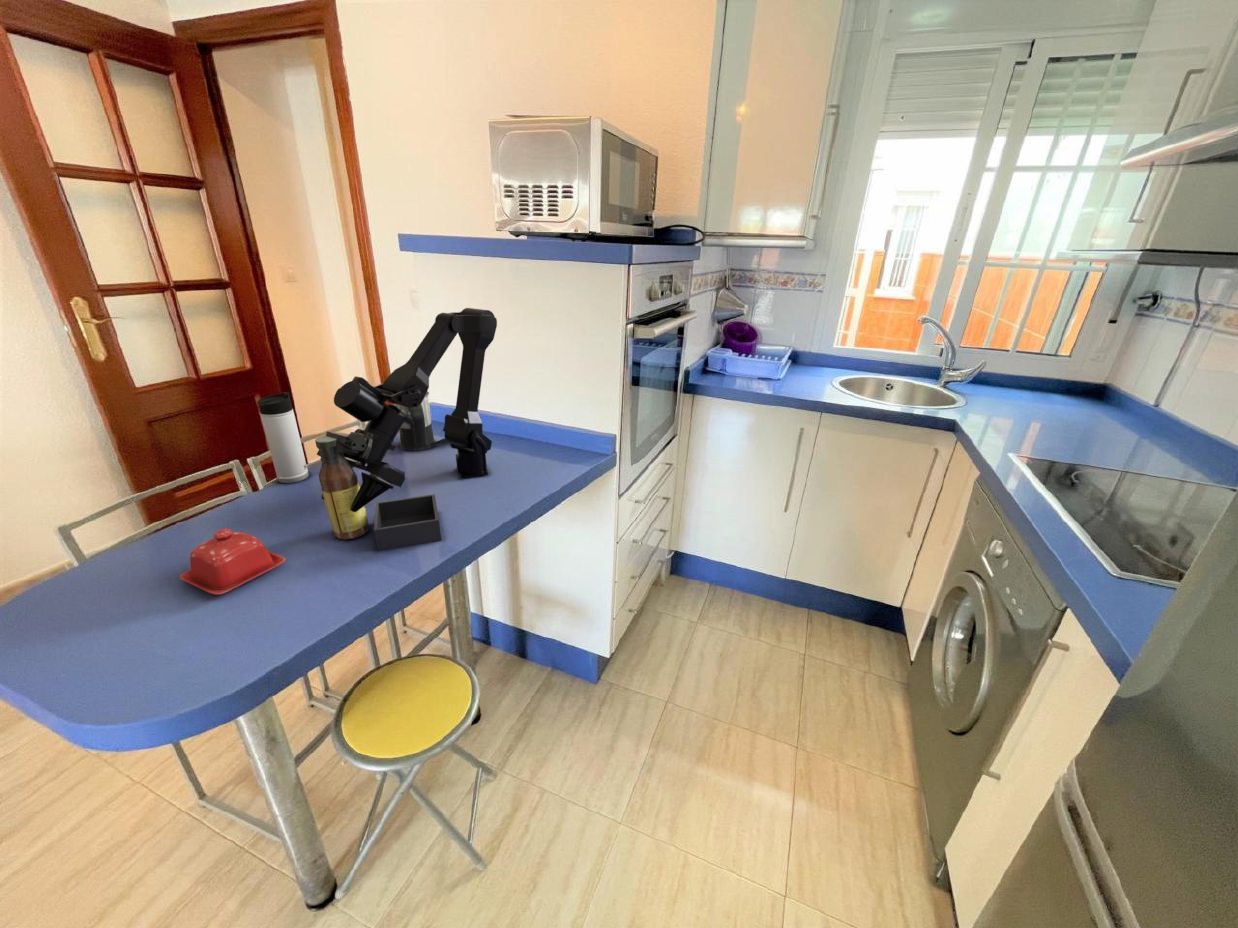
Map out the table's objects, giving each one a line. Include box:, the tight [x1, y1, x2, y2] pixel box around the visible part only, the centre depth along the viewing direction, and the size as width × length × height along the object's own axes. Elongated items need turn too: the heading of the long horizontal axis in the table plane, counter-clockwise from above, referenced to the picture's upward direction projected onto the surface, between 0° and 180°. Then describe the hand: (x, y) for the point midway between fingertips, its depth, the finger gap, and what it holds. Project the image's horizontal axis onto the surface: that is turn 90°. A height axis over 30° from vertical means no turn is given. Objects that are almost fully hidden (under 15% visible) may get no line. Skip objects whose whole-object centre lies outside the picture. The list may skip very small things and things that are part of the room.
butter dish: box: [179, 528, 287, 596], centre depth 83 cm, size 12×12×8 cm
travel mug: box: [257, 392, 310, 484], centre depth 115 cm, size 6×7×20 cm
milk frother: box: [394, 391, 448, 451], centre depth 137 cm, size 14×16×15 cm
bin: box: [373, 493, 442, 552], centre depth 98 cm, size 11×11×4 cm
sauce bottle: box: [314, 434, 369, 541], centre depth 94 cm, size 7×6×20 cm
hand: (338, 505), depth 94 cm, fingers open, 8 cm apart
